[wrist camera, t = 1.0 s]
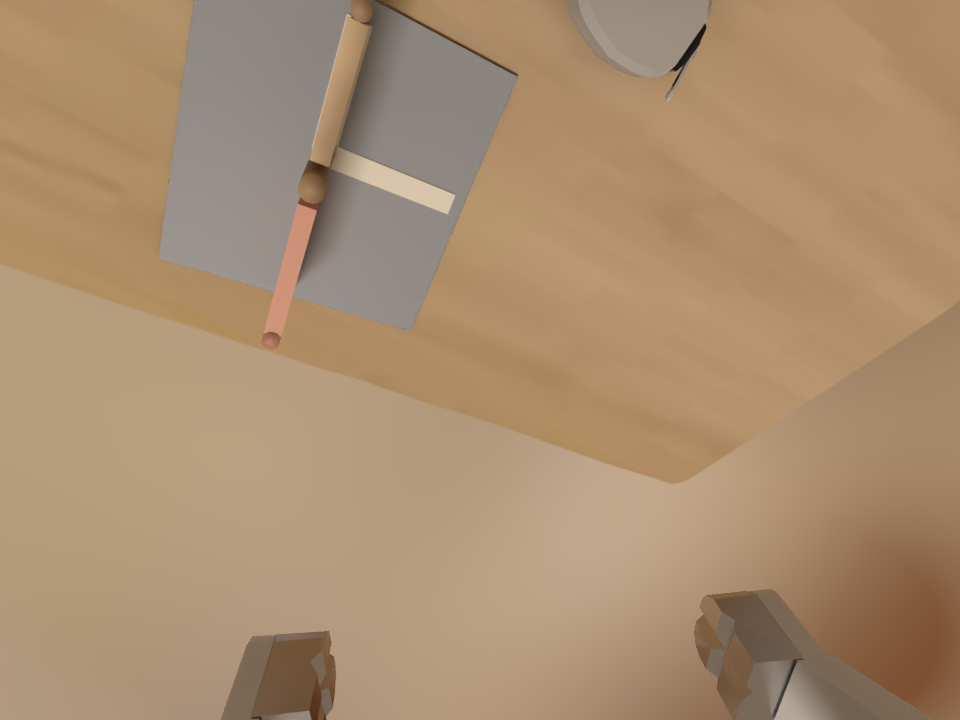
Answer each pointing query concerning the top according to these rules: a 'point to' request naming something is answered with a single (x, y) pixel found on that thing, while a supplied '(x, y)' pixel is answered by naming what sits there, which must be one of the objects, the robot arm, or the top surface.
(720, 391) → the top surface
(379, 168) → the board
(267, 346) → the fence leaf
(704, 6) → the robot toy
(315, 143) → the fence fixed
